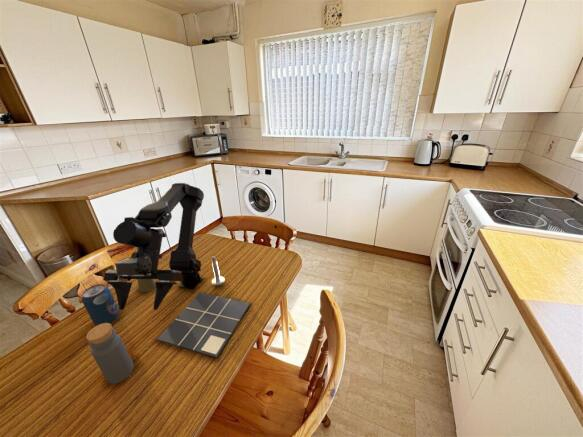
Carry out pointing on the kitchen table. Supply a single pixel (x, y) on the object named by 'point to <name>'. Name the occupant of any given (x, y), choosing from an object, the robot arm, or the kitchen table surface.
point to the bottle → (110, 353)
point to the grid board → (205, 324)
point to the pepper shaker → (146, 284)
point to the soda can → (100, 304)
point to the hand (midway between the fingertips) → (138, 309)
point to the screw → (217, 274)
